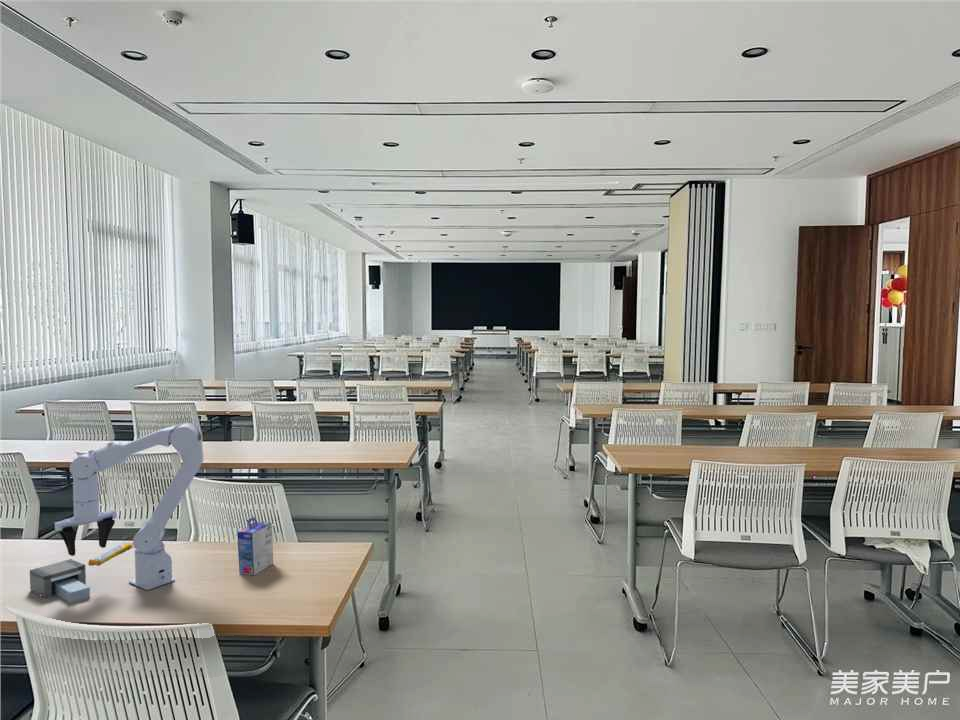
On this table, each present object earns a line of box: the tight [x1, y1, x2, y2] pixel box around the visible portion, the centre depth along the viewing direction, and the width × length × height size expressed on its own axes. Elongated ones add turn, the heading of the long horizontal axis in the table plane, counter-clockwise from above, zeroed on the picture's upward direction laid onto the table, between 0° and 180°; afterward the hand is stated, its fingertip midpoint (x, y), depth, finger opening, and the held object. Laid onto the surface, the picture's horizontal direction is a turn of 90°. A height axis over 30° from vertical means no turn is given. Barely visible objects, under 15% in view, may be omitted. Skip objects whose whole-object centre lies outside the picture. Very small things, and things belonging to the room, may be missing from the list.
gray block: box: [29, 559, 87, 598], centre depth 172 cm, size 9×10×6 cm
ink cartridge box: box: [236, 516, 274, 576], centre depth 186 cm, size 10×6×14 cm, turn 165°
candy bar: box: [87, 542, 134, 565], centre depth 198 cm, size 17×4×2 cm, turn 175°
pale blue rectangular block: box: [52, 576, 91, 604], centre depth 170 cm, size 15×4×3 cm, turn 52°
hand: (87, 550), depth 172 cm, fingers open, 7 cm apart
